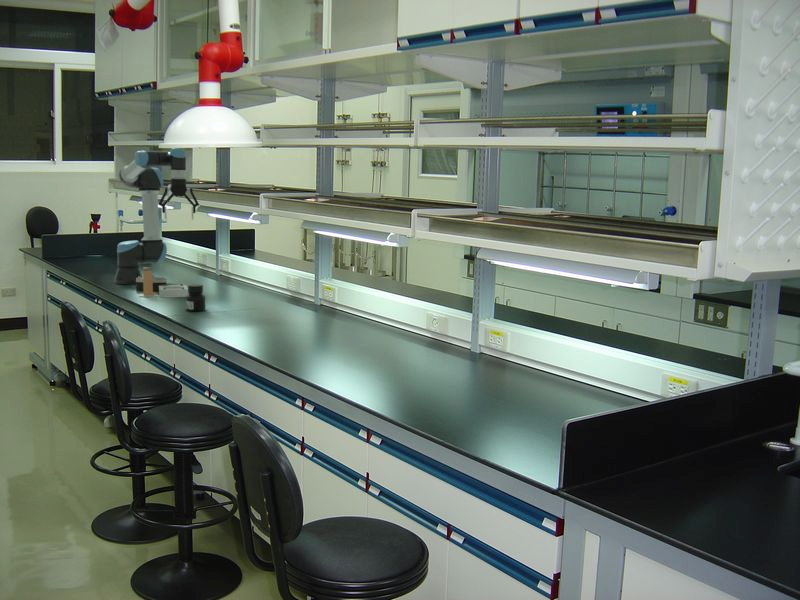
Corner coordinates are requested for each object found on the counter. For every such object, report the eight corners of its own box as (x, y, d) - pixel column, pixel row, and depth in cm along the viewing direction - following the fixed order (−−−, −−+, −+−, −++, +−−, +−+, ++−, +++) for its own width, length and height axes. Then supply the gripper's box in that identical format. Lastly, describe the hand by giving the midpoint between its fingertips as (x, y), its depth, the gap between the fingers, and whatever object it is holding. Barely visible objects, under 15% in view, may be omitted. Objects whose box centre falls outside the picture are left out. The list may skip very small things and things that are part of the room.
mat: (139, 294, 418) (138, 293, 418) (157, 293, 421) (157, 293, 421) (139, 297, 410) (139, 296, 410) (157, 296, 413) (157, 296, 413)
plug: (143, 294, 417) (142, 267, 415) (152, 293, 418) (152, 267, 416) (143, 295, 413) (142, 268, 410) (153, 295, 414) (152, 268, 412)
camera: (169, 290, 432) (169, 272, 431) (165, 293, 424) (165, 274, 422) (139, 290, 432) (139, 271, 430) (135, 292, 423) (134, 273, 422)
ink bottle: (184, 308, 382) (184, 284, 380) (203, 308, 385) (203, 283, 383) (187, 312, 373) (187, 287, 371) (206, 311, 376) (206, 286, 374)
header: (158, 293, 424) (158, 284, 423) (186, 292, 428) (186, 283, 427) (159, 297, 411) (159, 288, 410) (188, 296, 415) (187, 287, 414)
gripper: (153, 177, 411) (154, 219, 414) (203, 179, 418) (204, 220, 422) (153, 177, 418) (154, 218, 421) (202, 178, 425) (203, 218, 429)
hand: (179, 219), depth 422 cm, fingers open, 13 cm apart
